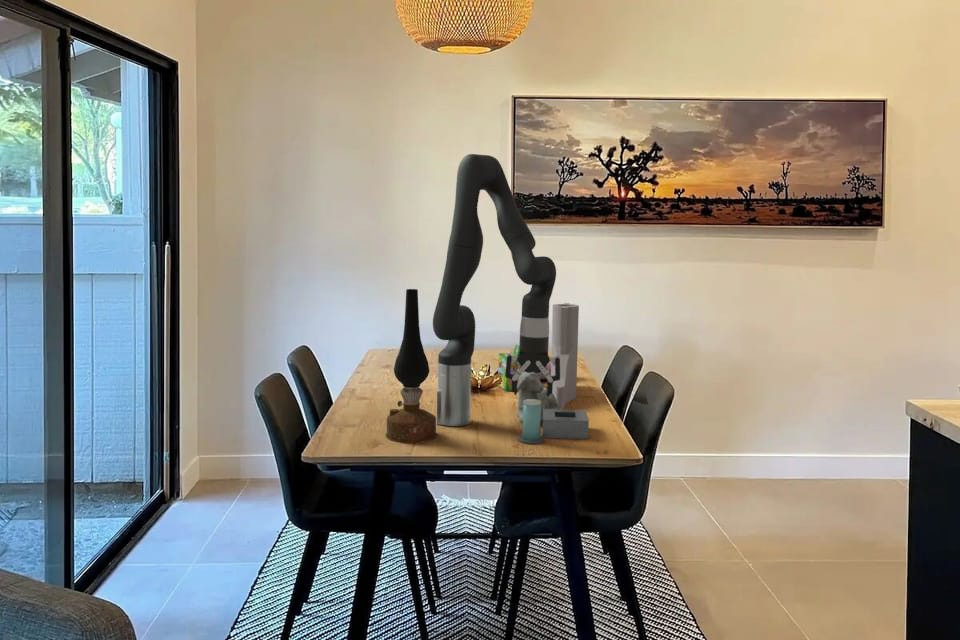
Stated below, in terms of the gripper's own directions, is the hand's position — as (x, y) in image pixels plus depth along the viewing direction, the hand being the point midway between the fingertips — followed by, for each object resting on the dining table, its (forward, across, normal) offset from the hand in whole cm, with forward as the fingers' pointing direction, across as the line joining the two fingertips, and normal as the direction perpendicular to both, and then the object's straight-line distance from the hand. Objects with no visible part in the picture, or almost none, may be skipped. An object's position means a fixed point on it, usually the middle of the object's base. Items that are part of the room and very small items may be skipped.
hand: (531, 395), depth 222 cm
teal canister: (+12, 0, 0) cm, 12 cm away
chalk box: (+13, -6, +64) cm, 65 cm away
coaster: (+12, 0, 0) cm, 12 cm away
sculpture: (+13, +2, +24) cm, 27 cm away
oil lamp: (+13, -32, +1) cm, 34 cm away
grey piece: (+13, +10, +52) cm, 55 cm away
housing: (+12, +9, +9) cm, 18 cm away
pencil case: (+14, +3, +78) cm, 79 cm away
